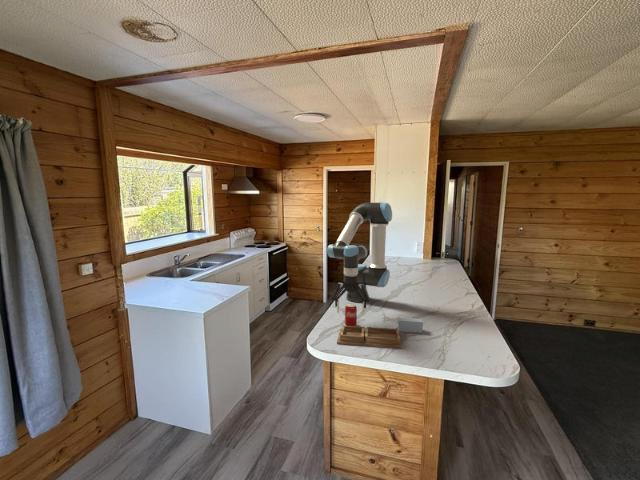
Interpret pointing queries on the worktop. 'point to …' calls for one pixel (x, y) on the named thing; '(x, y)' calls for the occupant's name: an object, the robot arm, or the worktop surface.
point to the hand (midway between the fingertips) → (350, 312)
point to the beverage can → (350, 314)
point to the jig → (369, 336)
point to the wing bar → (410, 325)
